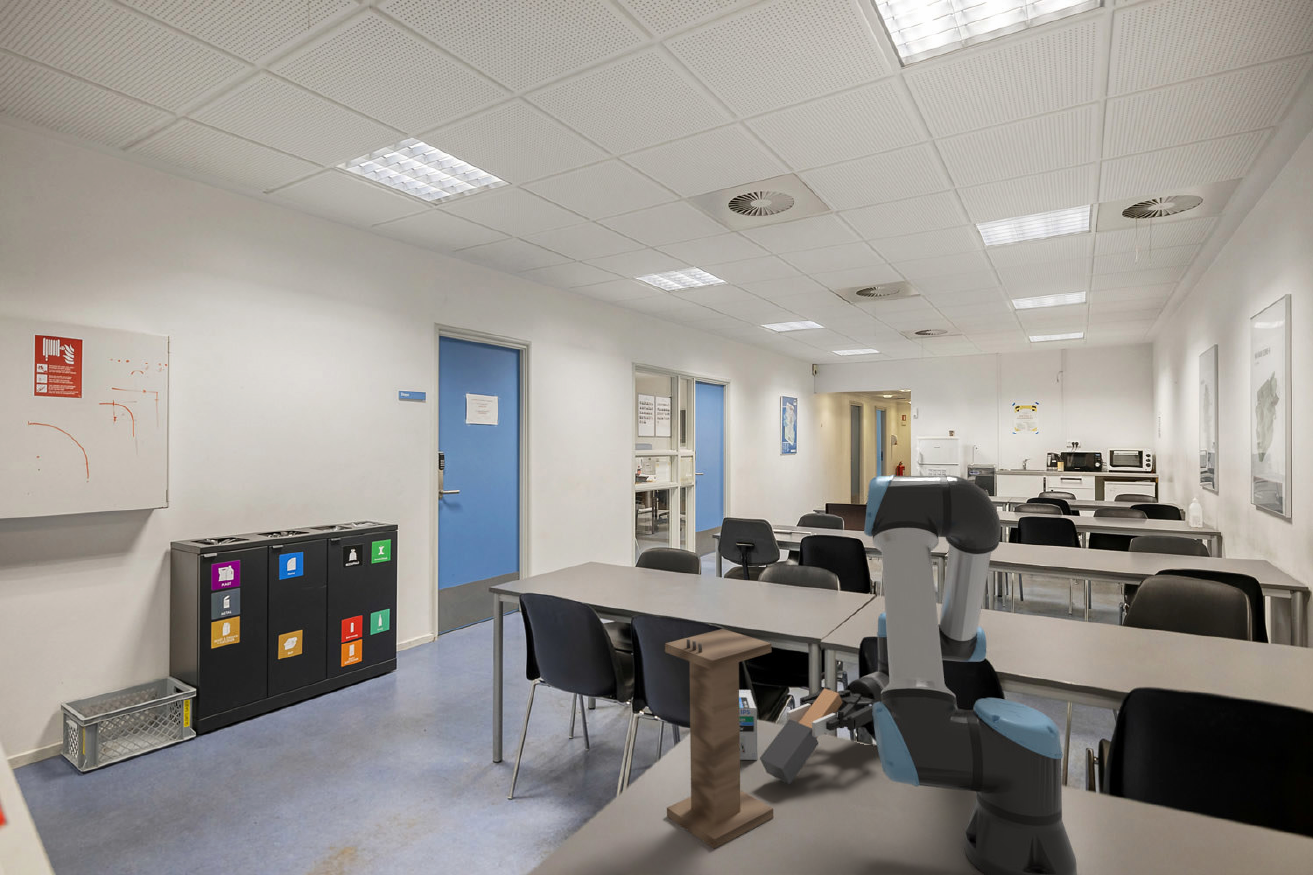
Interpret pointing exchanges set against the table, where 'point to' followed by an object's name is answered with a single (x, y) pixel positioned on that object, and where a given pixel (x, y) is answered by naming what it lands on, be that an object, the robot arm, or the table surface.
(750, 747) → the light bulb box
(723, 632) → the stand
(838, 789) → the table surface
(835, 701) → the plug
